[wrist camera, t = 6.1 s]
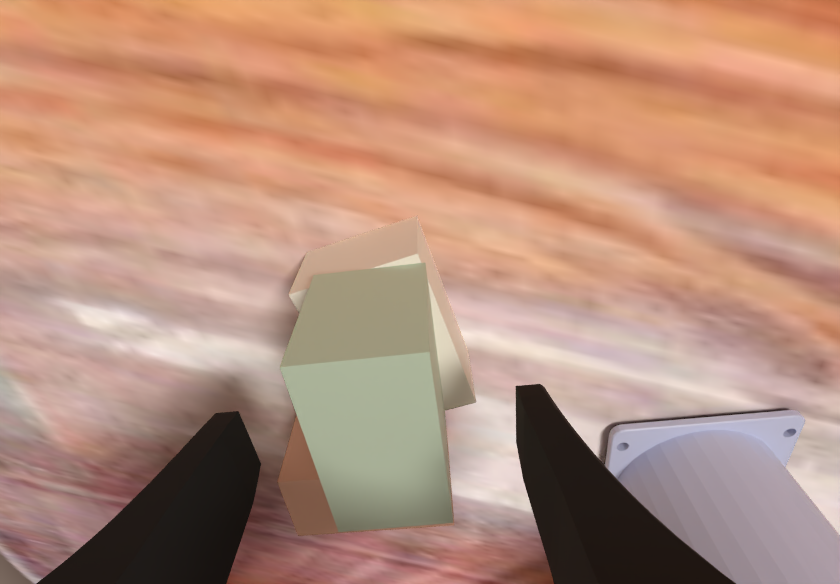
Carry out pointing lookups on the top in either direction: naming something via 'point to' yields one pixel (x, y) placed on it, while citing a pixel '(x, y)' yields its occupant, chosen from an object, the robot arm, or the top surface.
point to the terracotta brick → (311, 490)
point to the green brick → (372, 397)
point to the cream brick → (395, 249)
